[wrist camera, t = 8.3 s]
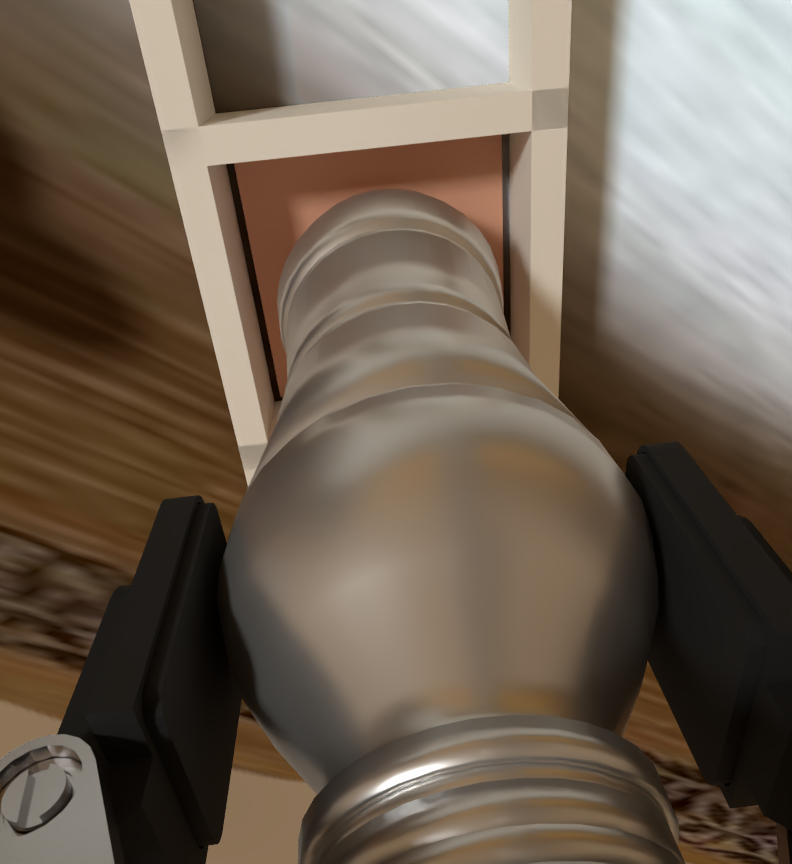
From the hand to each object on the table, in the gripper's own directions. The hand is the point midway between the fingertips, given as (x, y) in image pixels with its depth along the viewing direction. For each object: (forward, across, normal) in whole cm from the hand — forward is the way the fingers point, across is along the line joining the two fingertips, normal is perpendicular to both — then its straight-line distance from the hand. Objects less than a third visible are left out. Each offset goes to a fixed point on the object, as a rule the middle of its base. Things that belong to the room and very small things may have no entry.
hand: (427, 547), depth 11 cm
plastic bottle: (+14, 0, 0) cm, 14 cm away
